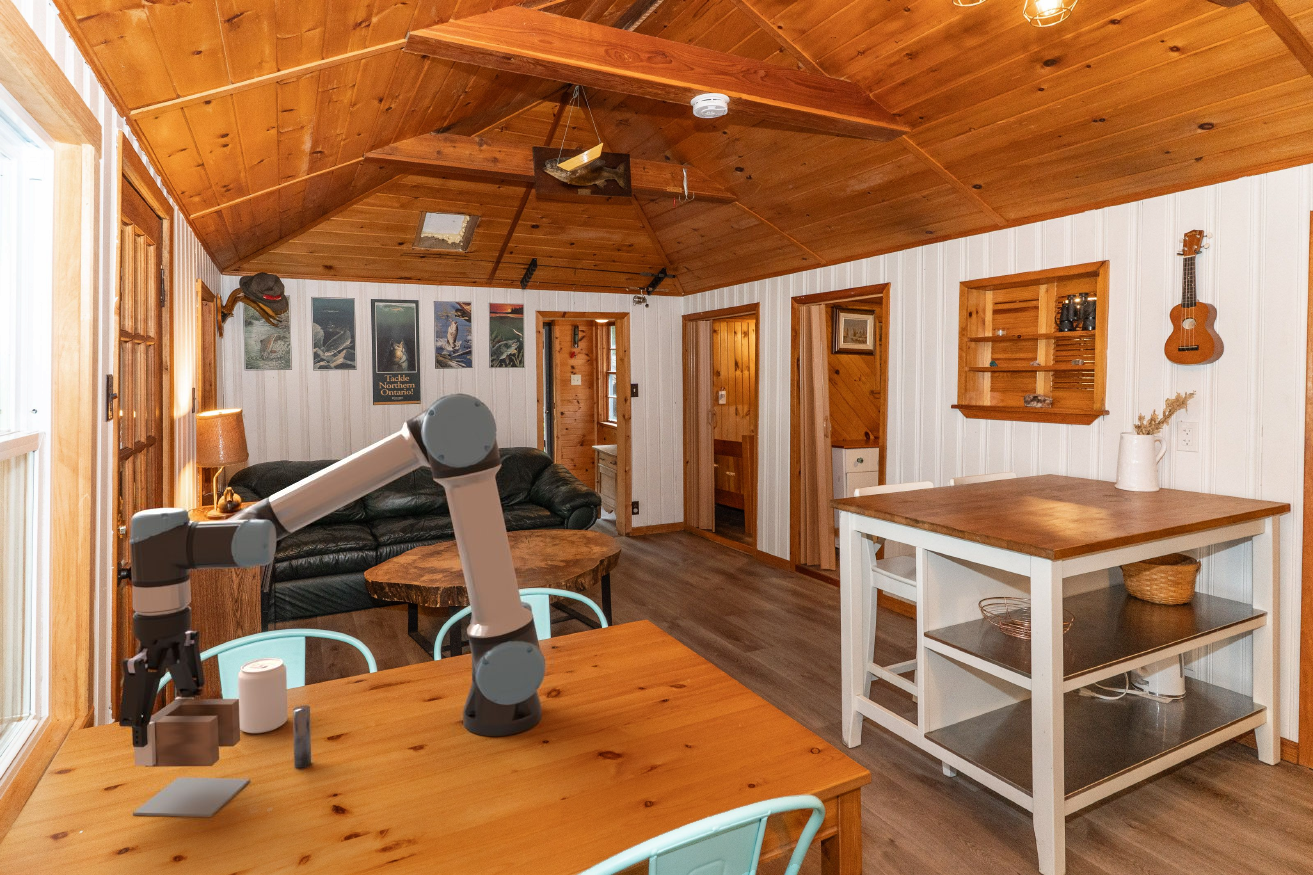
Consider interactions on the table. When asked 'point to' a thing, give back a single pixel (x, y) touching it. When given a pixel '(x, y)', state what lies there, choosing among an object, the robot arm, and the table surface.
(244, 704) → the beverage can
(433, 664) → the table surface
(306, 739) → the post
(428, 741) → the table surface
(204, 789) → the mat
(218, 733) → the c link
